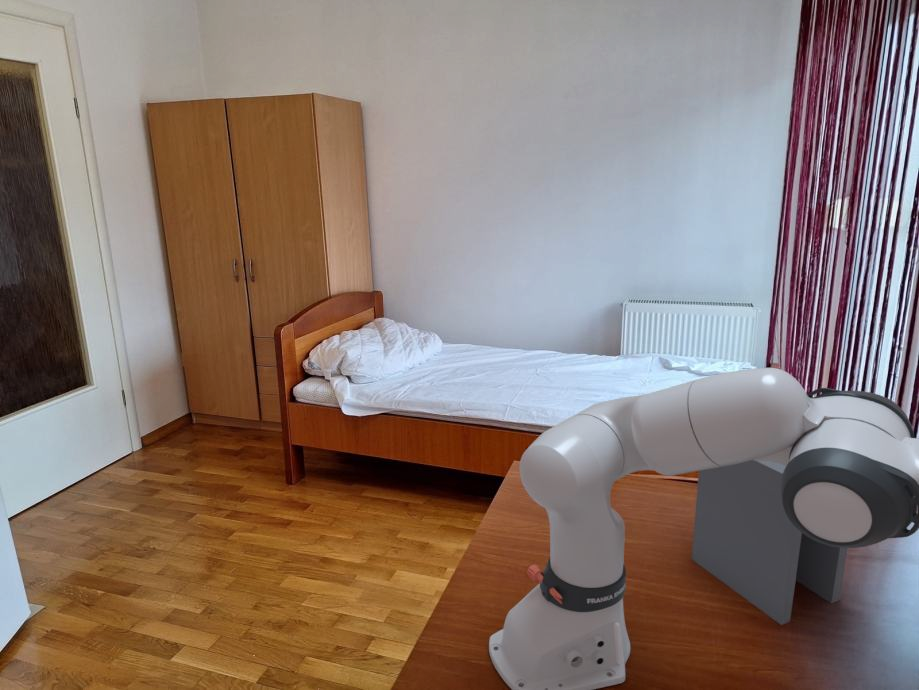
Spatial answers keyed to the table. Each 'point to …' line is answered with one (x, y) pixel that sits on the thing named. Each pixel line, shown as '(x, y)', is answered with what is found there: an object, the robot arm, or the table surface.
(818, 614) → the table surface
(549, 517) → the robot arm
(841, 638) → the table surface
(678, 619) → the table surface
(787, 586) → the charcoal shelf
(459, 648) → the table surface
